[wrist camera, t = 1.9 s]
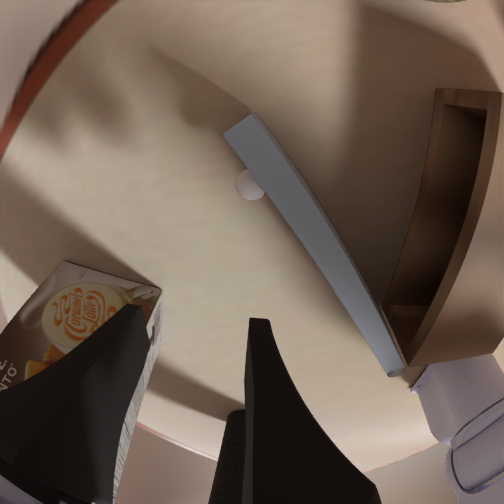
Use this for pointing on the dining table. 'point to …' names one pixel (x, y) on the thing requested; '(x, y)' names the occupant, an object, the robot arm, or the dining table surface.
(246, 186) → the cabinet door
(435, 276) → the cabinet
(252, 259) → the dining table surface
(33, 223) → the dining table surface
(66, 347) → the coffee box
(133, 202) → the dining table surface
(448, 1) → the decorative egg
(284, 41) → the dining table surface
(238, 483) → the drinking cup
